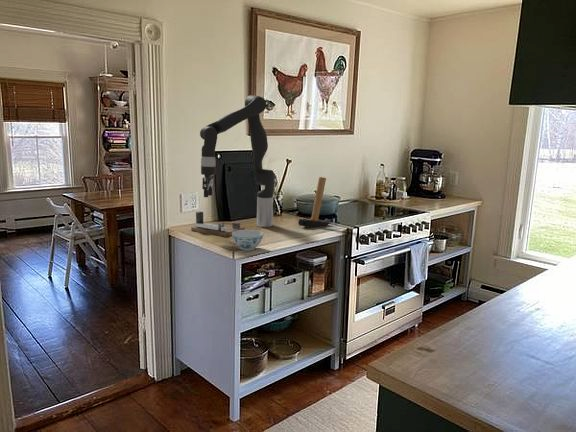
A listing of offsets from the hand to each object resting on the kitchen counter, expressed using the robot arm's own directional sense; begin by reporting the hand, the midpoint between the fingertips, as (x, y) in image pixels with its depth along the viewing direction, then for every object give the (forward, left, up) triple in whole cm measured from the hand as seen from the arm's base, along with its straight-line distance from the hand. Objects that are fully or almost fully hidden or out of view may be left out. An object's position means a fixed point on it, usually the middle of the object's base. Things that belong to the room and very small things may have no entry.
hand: (208, 196), depth 240 cm
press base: (-9, -1, -21) cm, 23 cm away
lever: (-3, -2, -18) cm, 18 cm away
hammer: (-52, +37, -21) cm, 67 cm away
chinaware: (+12, +34, -21) cm, 42 cm away
